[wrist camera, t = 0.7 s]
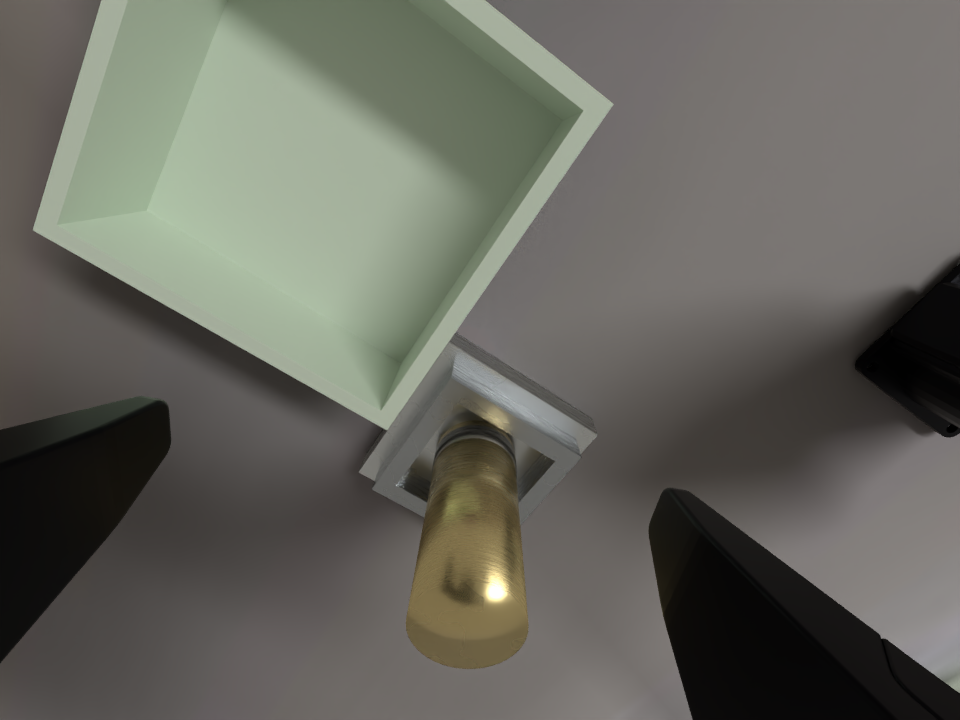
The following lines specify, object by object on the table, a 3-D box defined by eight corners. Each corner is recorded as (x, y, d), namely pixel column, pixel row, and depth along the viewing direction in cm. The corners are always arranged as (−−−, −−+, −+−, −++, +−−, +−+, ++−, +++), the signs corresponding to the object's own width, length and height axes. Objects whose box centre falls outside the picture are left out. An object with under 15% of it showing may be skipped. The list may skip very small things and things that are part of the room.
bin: (582, 116, 18) (613, 104, 14) (408, 374, 23) (387, 430, 18) (267, -132, 16) (176, -250, 11) (137, 212, 20) (32, 230, 16)
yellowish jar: (531, 445, 22) (555, 616, 14) (485, 499, 24) (483, 685, 15) (463, 405, 22) (447, 560, 13) (420, 462, 23) (381, 638, 15)
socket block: (591, 418, 24) (605, 453, 21) (496, 526, 26) (497, 570, 23) (451, 330, 22) (445, 355, 19) (365, 454, 25) (350, 492, 22)
